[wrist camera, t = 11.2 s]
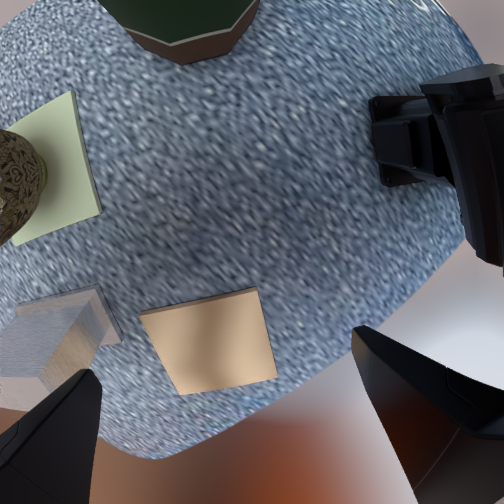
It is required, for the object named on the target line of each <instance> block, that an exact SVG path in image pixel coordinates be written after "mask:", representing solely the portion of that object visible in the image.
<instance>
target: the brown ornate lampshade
mask: <svg viewBox="0 0 504 504" xmlns="http://www.w3.org/2000/svg"><path fill="white" fill-rule="evenodd" d="M47 178H48V171H47V166H46V163H45V161H44V159H43V158H42V157H41V155H39V154H38V153H37V152H36V150H35V148H34V147H33V145H32V144H31V143H30V142H29V141H28V140H27V139H25V138H24V137H23V136H21V135H19V134H16V133H14V132H11V131H6V130H2V129H0V246H2V245H3V244H4V243H5V242H6V241H7V240H9V239H10V238H11V237H12V236H13V235H14V234H16V233H17V232H18V231H19V230H20V229H21V228H22V227H23V226H24V225H25V224H26V223H27V222H28V220H29V219H30V218H31V216H32V215H33V213H34V211H35V210H36V208H37V206H38V203H39V200H40V197H41V194H42V192H43V191H44V189H45V186H46V183H47Z"/></svg>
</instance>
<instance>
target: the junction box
mask: <svg viewBox="0 0 504 504" xmlns="http://www.w3.org/2000/svg"><path fill="white" fill-rule="evenodd" d="M15 310H16V312H17V314H18V315H17V316H16V317H15V318H14V319H13V320H12V321H11V322H10V323H9V324H8V325H7V327H6V328H5V329H4V330H3V331H2V332H1V333H0V407H2V408H8V409H14V410H21V411H30V410H31V409H32V408H34V407H35V406H36V405H37V404H38V403H40V402H41V401H42V400H43V399H44V398H46V397H47V396H48V395H49V394H51V393H52V392H53V391H54V390H55V389H57V388H58V387H59V386H60V385H61V384H63V383H64V382H65V381H66V380H68V379H69V378H70V377H71V376H73V375H74V374H75V373H76V372H77V371H79V370H80V369H88V368H89V366H90V364H91V362H92V360H93V358H94V356H95V354H96V352H97V350H98V348H99V346H102V345H109V344H116V343H122V340H123V338H124V336H123V334H122V332H121V330H120V328H119V326H118V324H117V322H116V320H115V318H114V316H113V314H112V312H111V310H110V308H109V306H108V303H107V301H106V299H105V297H104V295H103V292H102V290H101V288H100V286H99V284H97V285H93V286H88V287H84V288H80V289H76V290H72V291H68V292H64V293H60V294H56V295H52V296H48V297H44V298H40V299H35V300H31V301H27V302H23V303H19V304H18V305H17V306H16V307H15Z"/></svg>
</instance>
